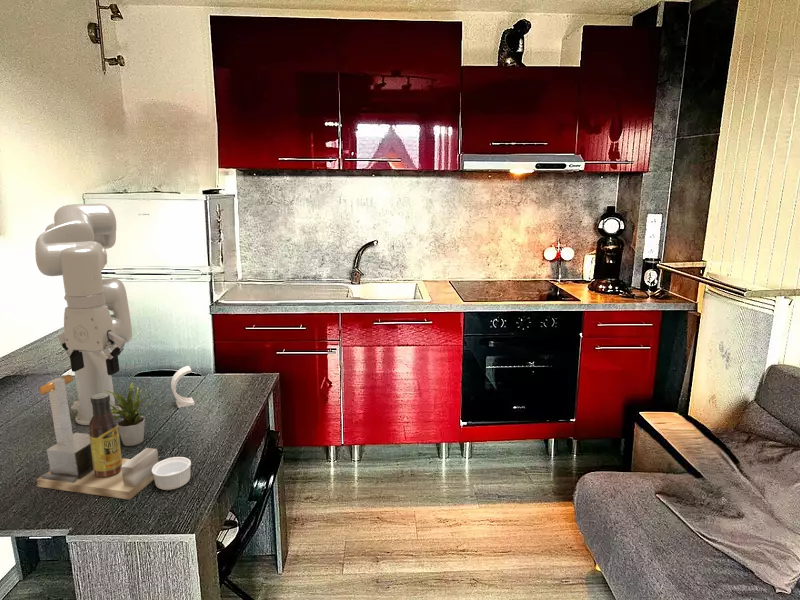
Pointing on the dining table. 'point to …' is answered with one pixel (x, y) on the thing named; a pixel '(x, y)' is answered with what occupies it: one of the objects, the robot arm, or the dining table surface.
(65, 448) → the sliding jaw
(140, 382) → the dining table surface
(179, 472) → the ramekin
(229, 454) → the dining table surface
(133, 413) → the house plant
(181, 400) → the white curved arc piece
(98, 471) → the sauce bottle
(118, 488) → the clamp base
